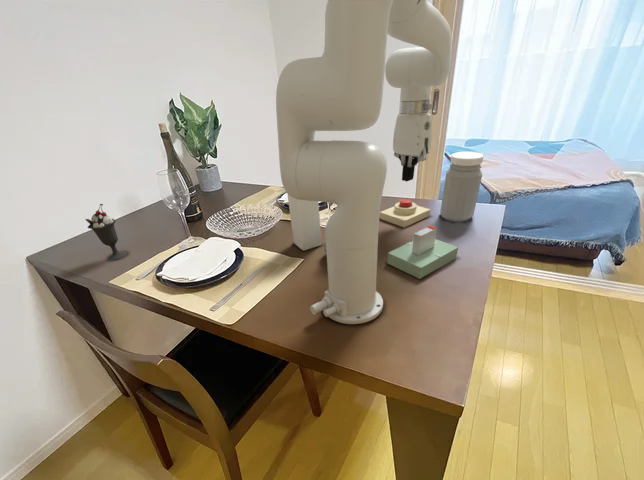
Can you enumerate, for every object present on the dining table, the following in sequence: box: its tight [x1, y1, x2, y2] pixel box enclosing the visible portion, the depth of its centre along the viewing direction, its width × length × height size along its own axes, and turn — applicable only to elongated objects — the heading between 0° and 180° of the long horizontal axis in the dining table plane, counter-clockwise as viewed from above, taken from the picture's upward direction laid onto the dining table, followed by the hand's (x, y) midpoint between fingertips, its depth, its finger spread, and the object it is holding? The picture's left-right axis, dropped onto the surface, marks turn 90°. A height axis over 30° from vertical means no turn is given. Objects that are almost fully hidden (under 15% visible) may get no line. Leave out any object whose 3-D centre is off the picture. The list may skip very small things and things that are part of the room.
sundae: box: [85, 203, 128, 261], centre depth 91 cm, size 7×7×15 cm
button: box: [399, 198, 413, 208], centre depth 102 cm, size 4×4×2 cm
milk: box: [286, 192, 322, 252], centre depth 87 cm, size 6×6×22 cm
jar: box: [439, 151, 484, 223], centre depth 97 cm, size 10×10×18 cm
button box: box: [379, 201, 431, 228], centre depth 103 cm, size 12×10×4 cm
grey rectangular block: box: [412, 224, 438, 255], centre depth 79 cm, size 6×2×5 cm, turn 127°
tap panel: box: [386, 238, 459, 280], centre depth 81 cm, size 14×10×3 cm
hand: (407, 179), depth 97 cm, fingers closed
